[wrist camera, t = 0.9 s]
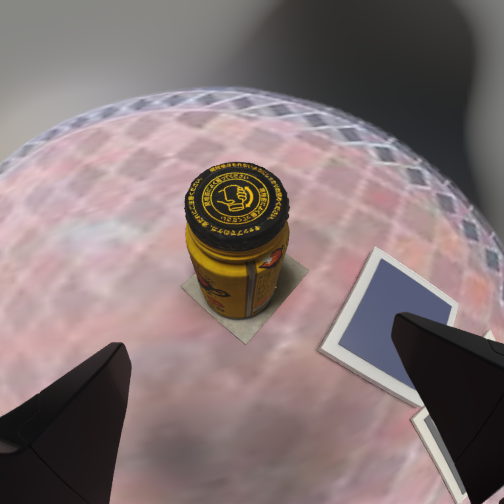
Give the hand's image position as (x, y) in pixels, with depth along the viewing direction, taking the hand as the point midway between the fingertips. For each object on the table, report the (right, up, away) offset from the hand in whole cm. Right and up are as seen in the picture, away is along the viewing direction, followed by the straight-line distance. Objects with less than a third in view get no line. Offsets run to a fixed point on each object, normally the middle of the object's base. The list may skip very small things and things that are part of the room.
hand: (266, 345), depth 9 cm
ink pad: (+12, -4, +14) cm, 19 cm away
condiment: (-1, 0, +16) cm, 16 cm away
